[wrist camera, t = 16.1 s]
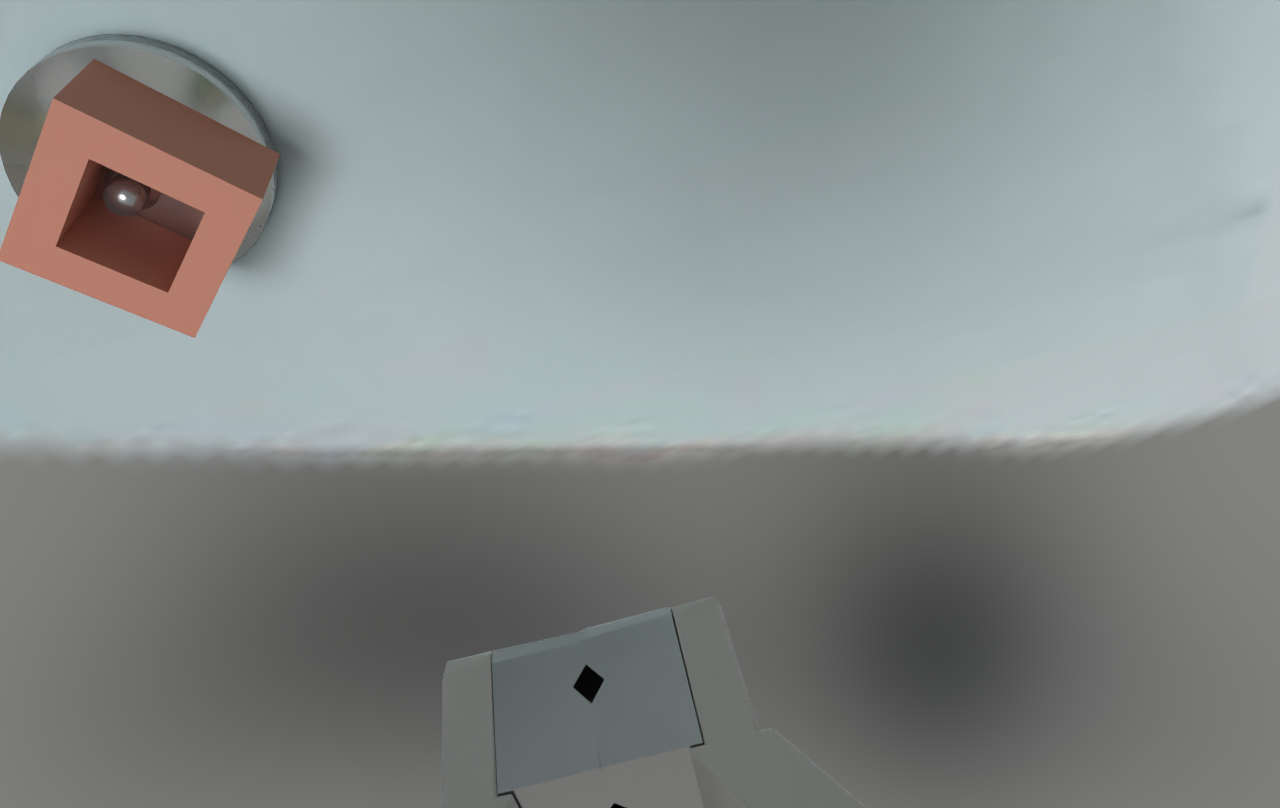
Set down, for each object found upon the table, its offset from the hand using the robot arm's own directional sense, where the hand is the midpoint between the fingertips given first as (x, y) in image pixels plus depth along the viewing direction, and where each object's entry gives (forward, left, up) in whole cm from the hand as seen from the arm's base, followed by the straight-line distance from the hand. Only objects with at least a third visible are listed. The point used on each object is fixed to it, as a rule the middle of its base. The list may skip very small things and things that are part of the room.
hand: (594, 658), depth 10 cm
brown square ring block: (-7, -12, -28) cm, 31 cm away
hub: (-8, -12, -29) cm, 32 cm away
